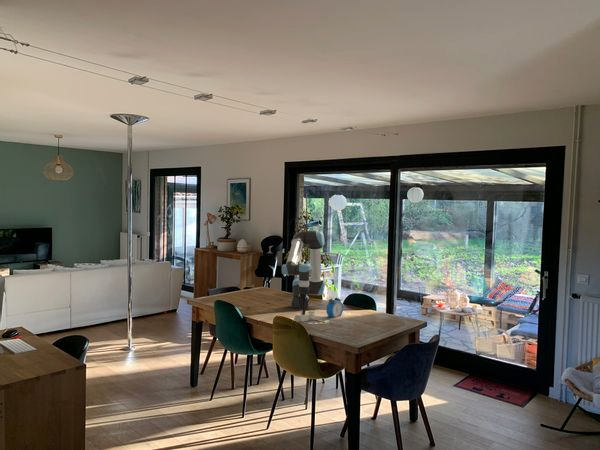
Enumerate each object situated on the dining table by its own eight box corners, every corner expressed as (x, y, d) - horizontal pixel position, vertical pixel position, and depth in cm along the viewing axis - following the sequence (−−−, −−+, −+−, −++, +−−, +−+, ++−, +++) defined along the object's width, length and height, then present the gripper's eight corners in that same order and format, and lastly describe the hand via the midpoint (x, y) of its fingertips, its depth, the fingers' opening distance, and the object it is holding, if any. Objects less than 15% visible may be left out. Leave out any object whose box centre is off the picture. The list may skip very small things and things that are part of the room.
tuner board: (295, 317, 347) (295, 315, 347) (330, 318, 344) (330, 316, 344) (291, 325, 323) (291, 323, 323) (329, 327, 320) (329, 324, 320)
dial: (299, 321, 329) (299, 312, 329) (311, 318, 339) (311, 309, 338) (314, 325, 318) (315, 316, 318) (327, 322, 328) (327, 313, 327)
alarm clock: (332, 320, 340) (332, 299, 339) (325, 318, 344) (325, 298, 344) (343, 317, 349) (343, 297, 349) (336, 315, 354) (337, 296, 353)
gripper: (294, 284, 332) (293, 317, 334) (304, 288, 322) (303, 321, 323) (303, 284, 336) (302, 316, 338) (313, 287, 326) (312, 320, 327)
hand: (302, 318), depth 330 cm, fingers closed
